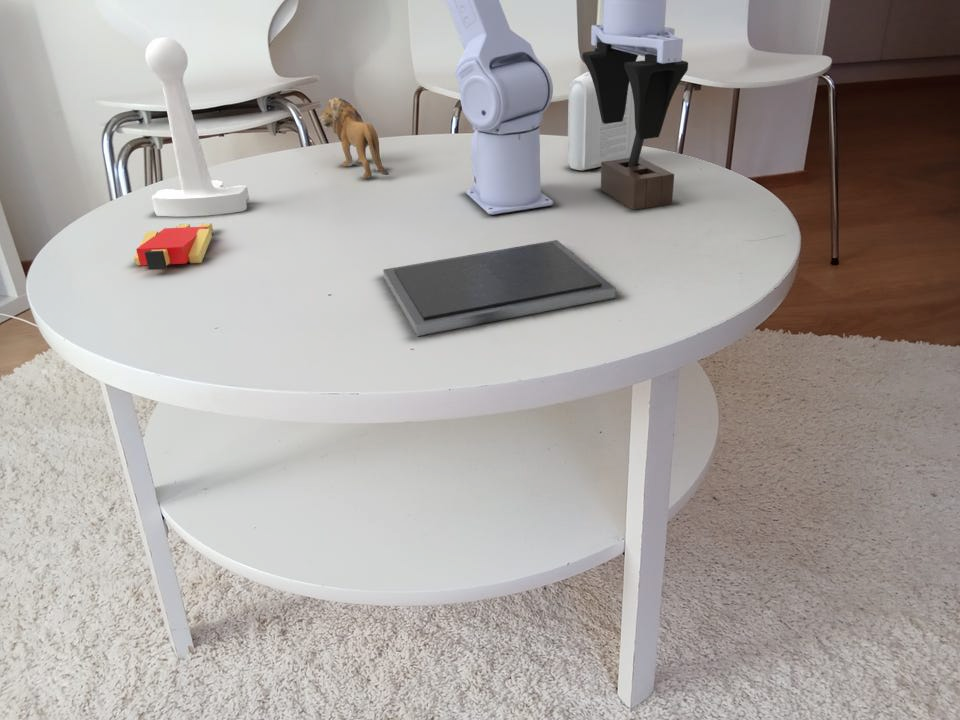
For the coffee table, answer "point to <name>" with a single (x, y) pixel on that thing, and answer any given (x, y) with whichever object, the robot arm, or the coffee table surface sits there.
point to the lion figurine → (353, 134)
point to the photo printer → (596, 128)
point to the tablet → (494, 286)
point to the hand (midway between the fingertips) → (629, 129)
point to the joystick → (187, 145)
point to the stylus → (635, 152)
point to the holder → (637, 183)
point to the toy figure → (174, 246)
